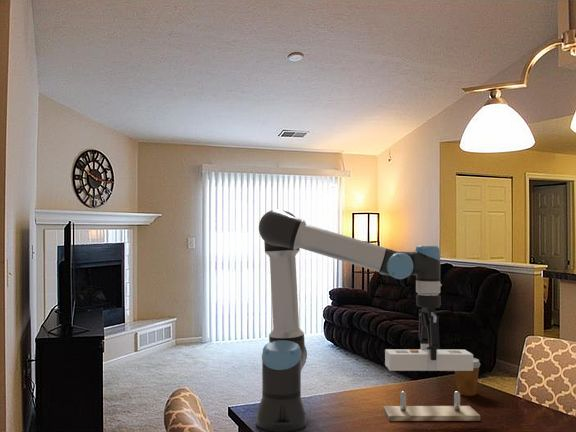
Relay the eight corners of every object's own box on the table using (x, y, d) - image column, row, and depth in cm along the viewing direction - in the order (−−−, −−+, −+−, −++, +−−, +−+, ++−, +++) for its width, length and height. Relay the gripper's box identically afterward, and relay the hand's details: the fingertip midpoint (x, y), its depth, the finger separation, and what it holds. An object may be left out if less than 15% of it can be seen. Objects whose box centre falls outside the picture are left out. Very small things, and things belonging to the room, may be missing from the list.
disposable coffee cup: (485, 392, 184) (484, 359, 184) (474, 399, 177) (474, 364, 177) (459, 387, 190) (458, 355, 191) (448, 393, 183) (448, 359, 183)
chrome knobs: (401, 414, 159) (400, 392, 160) (399, 412, 161) (399, 390, 161) (461, 414, 159) (460, 392, 160) (459, 412, 161) (458, 390, 162)
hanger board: (388, 420, 156) (388, 415, 156) (383, 410, 165) (383, 406, 165) (480, 420, 156) (480, 415, 156) (469, 410, 165) (469, 405, 165)
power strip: (389, 370, 158) (389, 352, 158) (385, 365, 165) (385, 347, 165) (473, 370, 158) (473, 352, 159) (464, 365, 165) (464, 347, 166)
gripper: (450, 297, 153) (451, 375, 152) (430, 290, 173) (431, 359, 172) (425, 297, 152) (426, 375, 152) (408, 290, 172) (408, 359, 171)
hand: (428, 366), depth 162 cm, fingers closed on power strip, 7 cm apart
